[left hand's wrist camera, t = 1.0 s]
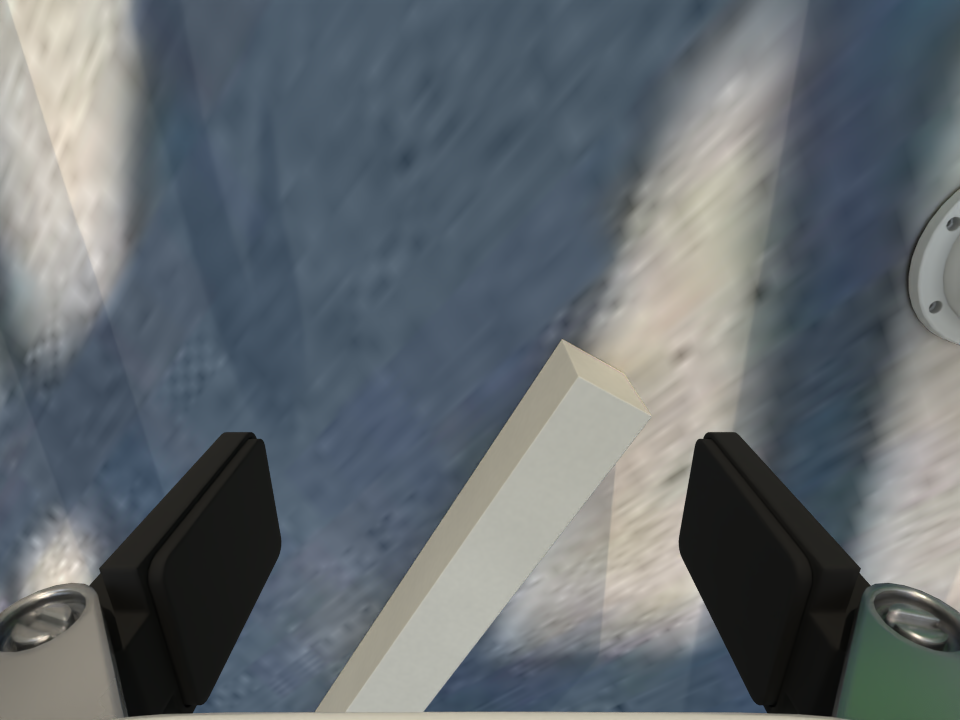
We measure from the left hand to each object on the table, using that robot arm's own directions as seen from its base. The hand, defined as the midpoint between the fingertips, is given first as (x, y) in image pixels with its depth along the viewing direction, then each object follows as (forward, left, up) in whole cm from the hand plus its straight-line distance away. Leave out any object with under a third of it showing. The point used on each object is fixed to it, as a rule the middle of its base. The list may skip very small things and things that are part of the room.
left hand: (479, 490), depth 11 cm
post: (-6, +40, -26) cm, 48 cm away
